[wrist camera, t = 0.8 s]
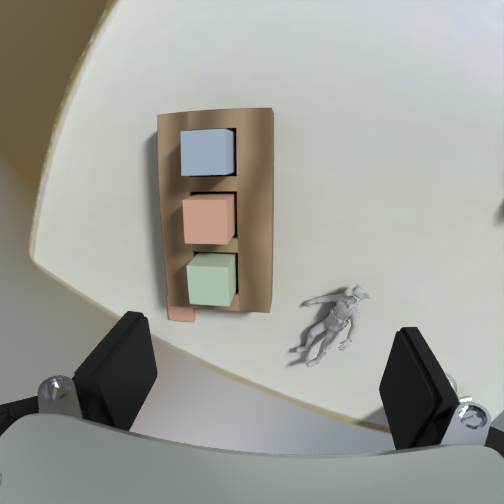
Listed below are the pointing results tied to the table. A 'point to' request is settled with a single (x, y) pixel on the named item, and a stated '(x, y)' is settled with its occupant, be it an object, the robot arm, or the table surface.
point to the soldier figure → (335, 321)
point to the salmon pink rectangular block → (210, 218)
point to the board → (245, 183)
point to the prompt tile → (180, 313)
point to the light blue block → (208, 152)
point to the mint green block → (212, 278)
